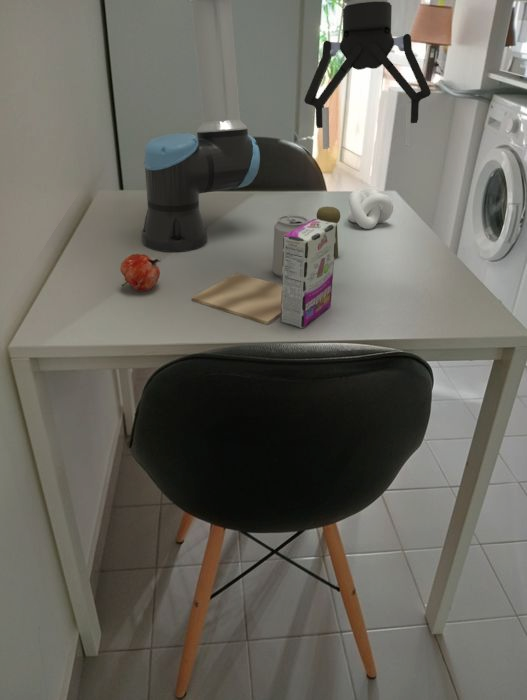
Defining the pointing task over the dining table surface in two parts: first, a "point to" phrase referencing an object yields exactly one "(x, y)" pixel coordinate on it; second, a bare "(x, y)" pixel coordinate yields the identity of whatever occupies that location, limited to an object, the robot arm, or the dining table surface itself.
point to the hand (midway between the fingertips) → (366, 146)
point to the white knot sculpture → (369, 207)
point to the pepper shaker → (330, 220)
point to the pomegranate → (140, 271)
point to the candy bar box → (307, 272)
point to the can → (281, 229)
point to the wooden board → (244, 298)
